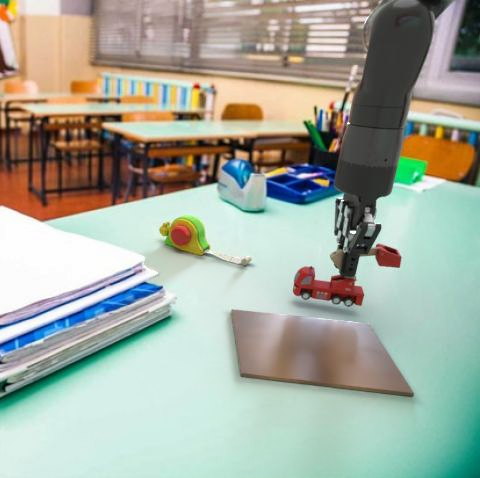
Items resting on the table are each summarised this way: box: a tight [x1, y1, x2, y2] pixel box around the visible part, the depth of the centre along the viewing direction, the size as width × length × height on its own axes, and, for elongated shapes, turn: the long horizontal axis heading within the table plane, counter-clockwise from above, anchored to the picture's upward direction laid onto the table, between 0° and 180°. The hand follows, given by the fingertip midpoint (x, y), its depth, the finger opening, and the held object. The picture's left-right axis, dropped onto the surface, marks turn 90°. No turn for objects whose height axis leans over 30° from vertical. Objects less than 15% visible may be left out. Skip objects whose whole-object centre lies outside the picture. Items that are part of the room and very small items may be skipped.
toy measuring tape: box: [159, 214, 253, 266], centre depth 95 cm, size 6×19×7 cm, turn 55°
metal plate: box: [230, 308, 415, 397], centre depth 66 cm, size 20×16×1 cm
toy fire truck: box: [292, 243, 402, 308], centre depth 75 cm, size 3×14×10 cm, turn 72°
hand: (344, 271), depth 74 cm, fingers closed on toy fire truck, 2 cm apart
